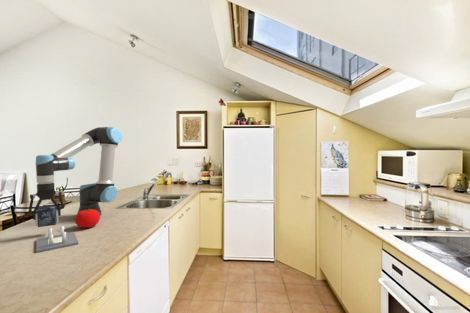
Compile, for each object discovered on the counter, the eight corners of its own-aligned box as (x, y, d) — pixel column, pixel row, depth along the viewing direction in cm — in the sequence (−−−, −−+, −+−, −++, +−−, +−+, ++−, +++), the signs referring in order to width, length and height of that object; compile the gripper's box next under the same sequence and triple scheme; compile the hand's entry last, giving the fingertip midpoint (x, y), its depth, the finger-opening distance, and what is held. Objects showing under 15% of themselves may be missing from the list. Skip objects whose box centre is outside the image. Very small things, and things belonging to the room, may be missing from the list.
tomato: (104, 224, 148) (104, 207, 148) (85, 231, 136) (84, 212, 136) (90, 223, 152) (90, 206, 152) (70, 229, 140) (70, 210, 140)
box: (37, 227, 126) (36, 208, 126) (39, 225, 131) (38, 206, 130) (56, 225, 130) (55, 206, 130) (56, 222, 135) (56, 204, 135)
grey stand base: (73, 233, 132) (73, 223, 132) (78, 244, 117) (78, 232, 117) (36, 240, 122) (36, 228, 122) (36, 252, 107) (36, 239, 106)
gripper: (68, 180, 139) (69, 218, 140) (20, 184, 126) (22, 226, 127) (69, 181, 133) (71, 221, 134) (19, 185, 120) (21, 229, 121)
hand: (47, 223), depth 130 cm, fingers closed on box, 8 cm apart
